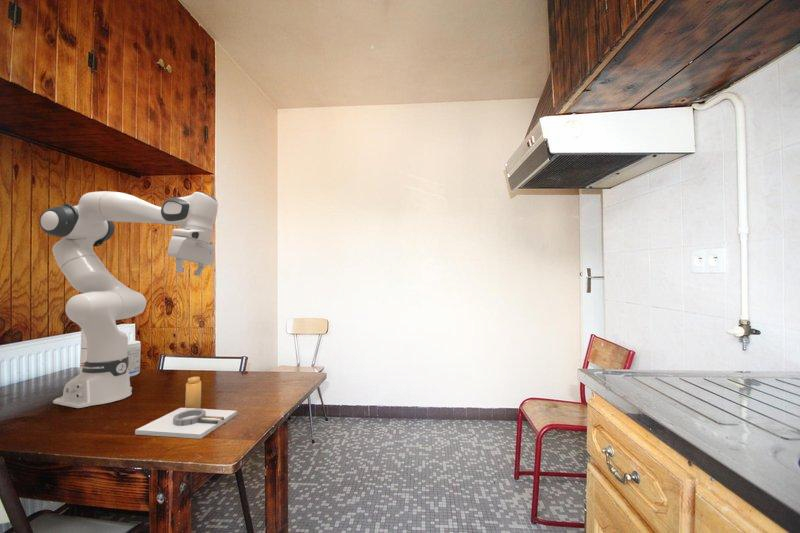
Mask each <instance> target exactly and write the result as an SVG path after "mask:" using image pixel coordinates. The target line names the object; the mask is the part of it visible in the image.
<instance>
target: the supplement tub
mask: <svg viewBox="0 0 800 533" xmlns="http://www.w3.org/2000/svg"><path fill="white" fill-rule="evenodd" d="M141 347H142V346H141V341H139V340H128V351H127V356H128V357H129V366H128V368H127V369H128V370H129V378H131V377H134V376H137V375H138V374H140V373H141V351H142V350H141V349H142V348H141Z"/></svg>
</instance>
